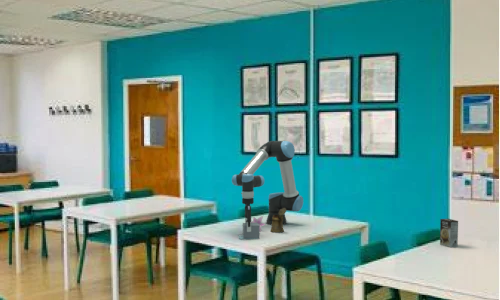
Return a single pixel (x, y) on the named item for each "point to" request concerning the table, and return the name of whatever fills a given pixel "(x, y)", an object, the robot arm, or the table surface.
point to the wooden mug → (278, 221)
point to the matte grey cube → (254, 231)
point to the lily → (258, 221)
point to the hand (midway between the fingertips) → (248, 229)
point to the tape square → (241, 237)
